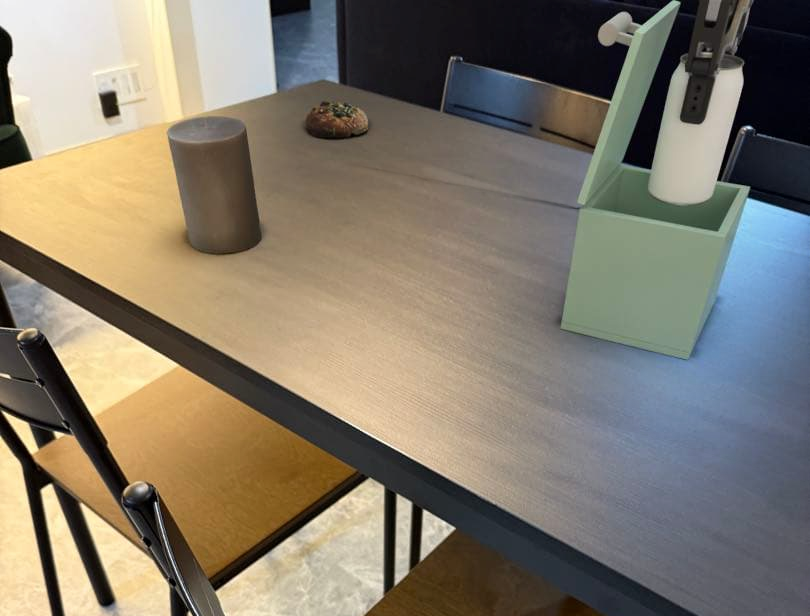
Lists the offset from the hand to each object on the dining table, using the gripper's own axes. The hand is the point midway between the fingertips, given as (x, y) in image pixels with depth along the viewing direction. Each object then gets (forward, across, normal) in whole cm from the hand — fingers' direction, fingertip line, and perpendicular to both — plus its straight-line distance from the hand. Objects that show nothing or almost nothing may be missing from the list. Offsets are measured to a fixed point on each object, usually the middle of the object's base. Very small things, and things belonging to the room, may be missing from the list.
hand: (699, 111), depth 72 cm
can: (+8, 0, 0) cm, 8 cm away
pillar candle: (+22, -5, +56) cm, 60 cm away
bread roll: (+22, +40, +65) cm, 79 cm away
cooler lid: (0, 0, +6) cm, 6 cm away
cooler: (+21, 0, +1) cm, 22 cm away
